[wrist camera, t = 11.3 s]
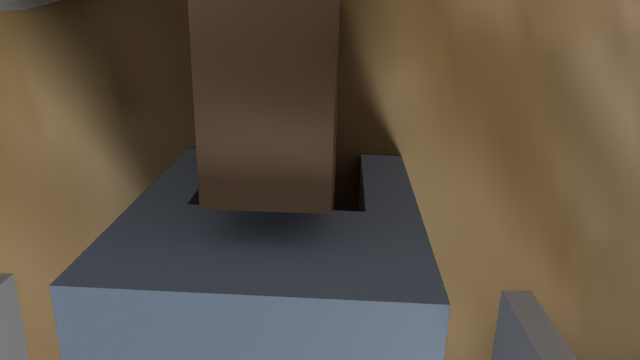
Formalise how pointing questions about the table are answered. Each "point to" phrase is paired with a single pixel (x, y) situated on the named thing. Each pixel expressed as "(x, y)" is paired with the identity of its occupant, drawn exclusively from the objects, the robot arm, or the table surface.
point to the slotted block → (257, 279)
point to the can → (23, 4)
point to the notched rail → (265, 103)
